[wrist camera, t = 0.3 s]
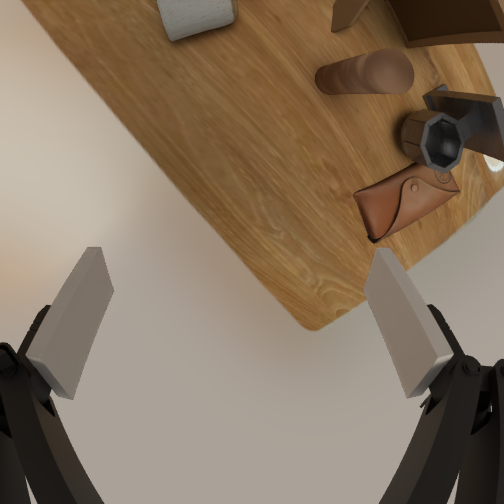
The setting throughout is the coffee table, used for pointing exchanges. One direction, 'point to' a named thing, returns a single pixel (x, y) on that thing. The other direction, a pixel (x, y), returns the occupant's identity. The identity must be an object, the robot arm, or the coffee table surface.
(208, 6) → the ceramic mug
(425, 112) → the bracket
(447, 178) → the sunglasses case
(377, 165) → the coffee table surface
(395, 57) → the brown wooden dowel
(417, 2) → the photo frame
